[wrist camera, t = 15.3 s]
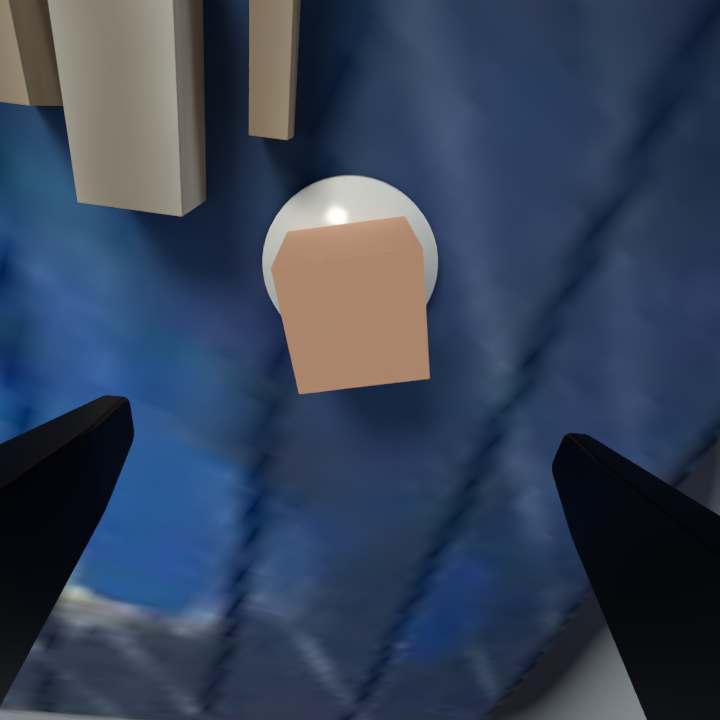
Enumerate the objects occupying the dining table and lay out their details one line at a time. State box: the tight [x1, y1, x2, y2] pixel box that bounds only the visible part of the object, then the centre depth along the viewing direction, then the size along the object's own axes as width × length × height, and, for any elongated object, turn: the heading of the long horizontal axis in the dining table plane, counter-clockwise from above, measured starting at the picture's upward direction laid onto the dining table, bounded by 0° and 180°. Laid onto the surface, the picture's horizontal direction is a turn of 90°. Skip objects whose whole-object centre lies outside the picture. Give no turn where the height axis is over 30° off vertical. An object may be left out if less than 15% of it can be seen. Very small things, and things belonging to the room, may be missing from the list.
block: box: [271, 216, 430, 394], centre depth 16 cm, size 4×4×4 cm
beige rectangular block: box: [48, 0, 206, 217], centre depth 14 cm, size 3×8×3 cm, turn 172°
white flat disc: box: [262, 175, 438, 314], centre depth 18 cm, size 7×7×1 cm
